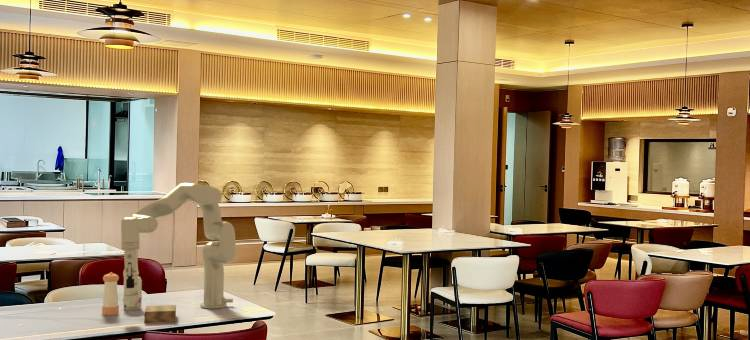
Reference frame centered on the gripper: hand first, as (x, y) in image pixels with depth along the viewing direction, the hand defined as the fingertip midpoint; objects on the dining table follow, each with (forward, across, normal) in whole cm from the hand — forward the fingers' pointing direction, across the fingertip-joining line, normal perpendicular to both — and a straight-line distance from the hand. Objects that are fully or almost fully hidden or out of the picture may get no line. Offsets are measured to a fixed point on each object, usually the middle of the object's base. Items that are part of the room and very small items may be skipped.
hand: (130, 286), depth 328 cm
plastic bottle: (+9, 0, 0) cm, 9 cm away
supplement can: (+17, +31, +2) cm, 36 cm away
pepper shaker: (+17, +21, +11) cm, 29 cm away
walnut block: (+17, +5, -12) cm, 21 cm away
